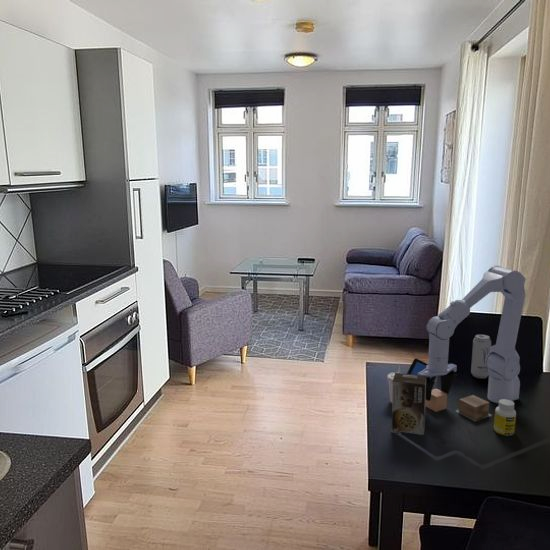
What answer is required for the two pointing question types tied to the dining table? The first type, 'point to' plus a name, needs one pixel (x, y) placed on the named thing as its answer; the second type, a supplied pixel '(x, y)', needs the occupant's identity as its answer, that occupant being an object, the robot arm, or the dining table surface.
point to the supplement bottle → (505, 418)
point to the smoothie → (391, 383)
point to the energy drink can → (480, 356)
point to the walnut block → (473, 407)
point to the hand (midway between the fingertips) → (435, 396)
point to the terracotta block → (437, 400)
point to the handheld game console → (418, 368)
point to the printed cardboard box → (408, 403)
